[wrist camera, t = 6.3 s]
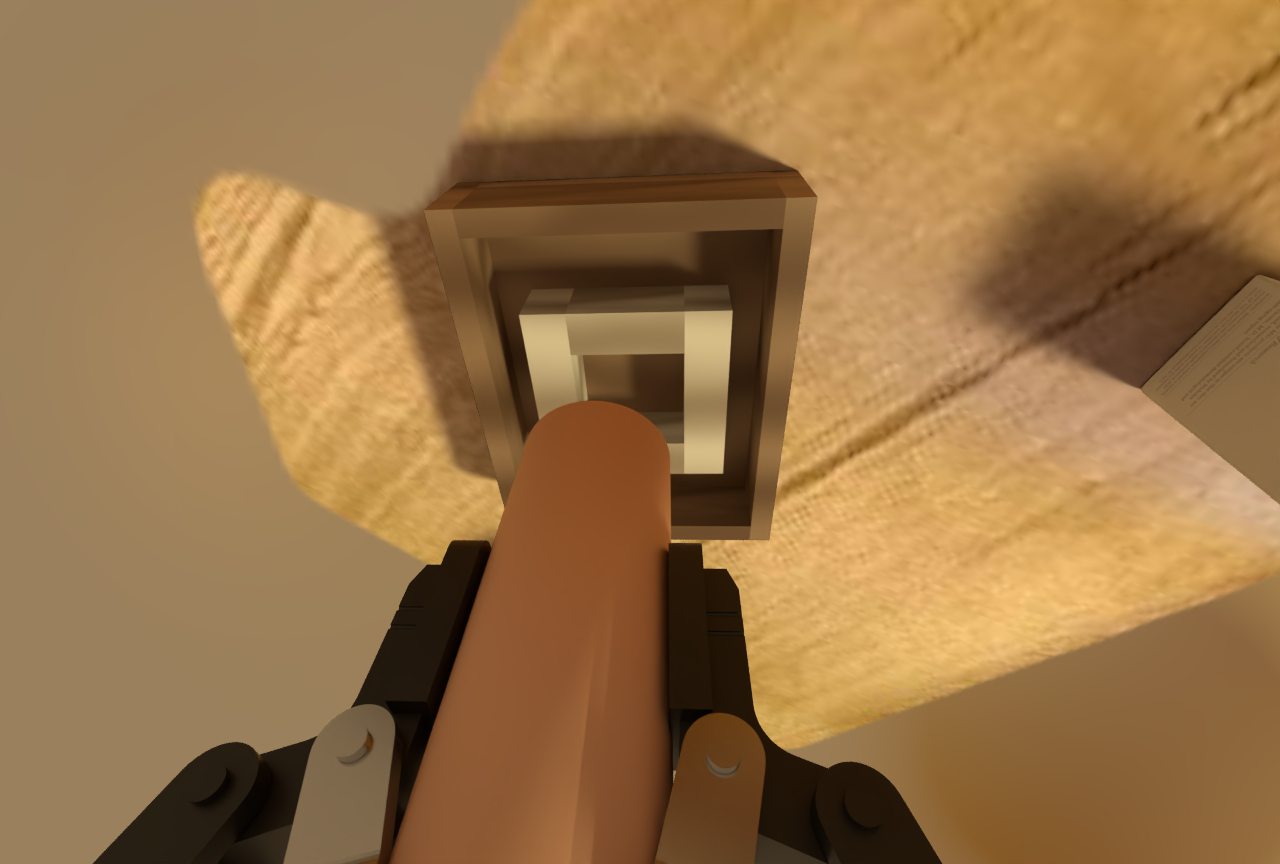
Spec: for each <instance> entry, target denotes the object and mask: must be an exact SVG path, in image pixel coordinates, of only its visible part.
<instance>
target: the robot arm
mask: <svg viewBox="0 0 1280 864" xmlns="http://www.w3.org/2000/svg"><path fill="white" fill-rule="evenodd" d="M490 552H491V546H490V543H489V542H488V541H475V540H454V541H452V542H451V543H450V545H449V547H448V549H447V551H446V554H445V556H444V558H443V561H442V563H441V565H426V566H425V568H424V569H423V570H422V571H421V572H420V573H419V574H418V575H417V576H416V577H415V578H414V579H413V580H412V581H411V582H410V584H409V585H408V587H407V590H406V592H405V594H404V596H403V598H402V600H401V603H400V605H399V610H398V611H396V614H395V616H394V618H393V620H392V623H391V628H390V629H388V631H387V633H386V636H385V638H384V640H383V642H382V644H381V646H380V649H379V651H378V653H377V655H376V658H375V660H374V662H373V664H372V666H371V668H370V671H369V673H368V675H367V677H366V679H365V682H364V684H363V686H362V688H361V691H360V693H359V695H358V697H357V699H356V701H355V702H354V704H353V705H352V707H351V708H350V709H348V710H346V711H344V712H343V713H341V714H339V715H338V716H336V717H335V718H334V719H332V720H331V721H330V722H329V723H328V724H327V725H326V726H325V727H324V728H323V730H322V731H321V732H320V734H319V735H318V736H316V737H314V738H311V739H309V740H306V741H303V742H300V743H297V744H293V745H290V746H287V747H283V748H280V749H277V750H274V751H270V752H267V753H263V754H260V755H259V754H258V753H257V752H256V751H255V750H254V749H253V748H252V747H251V746H249V745H247V744H244V743H239V742H232V743H226V744H222V745H219V746H217V747H214V748H212V749H210V750H208V751H206V752H204V753H203V754H201V755H200V756H198V757H197V758H195V759H194V760H193V761H192V762H190V763H189V764H188V765H187V766H186V767H185V768H184V769H183V770H182V771H181V772H180V773H179V774H178V775H177V776H176V777H175V778H174V779H173V780H172V781H171V782H170V783H169V784H168V785H167V786H166V787H165V789H164V790H163V791H162V792H161V793H160V794H159V795H158V796H157V797H156V798H155V799H154V800H153V801H152V802H151V803H150V804H149V805H148V806H147V807H146V809H145V810H143V812H142V813H141V814H140V815H139V816H138V817H137V818H136V819H135V820H134V821H133V822H132V823H131V824H130V825H129V826H128V827H127V828H126V829H125V830H124V831H123V833H122V834H121V835H120V836H119V837H118V838H117V839H116V840H115V841H114V842H113V843H112V844H111V845H110V846H109V847H108V848H107V849H106V850H105V851H104V852H103V853H102V855H100V856H99V858H98V859H97V860H96V861H95V862H94V863H93V864H389V861H390V857H391V853H392V850H393V847H394V844H395V841H396V838H397V835H398V832H399V829H400V826H401V823H402V820H403V817H404V814H405V811H406V808H407V805H408V802H409V799H410V795H411V792H412V789H413V786H414V783H415V780H416V777H417V774H418V771H419V768H420V765H421V762H422V759H423V756H424V753H425V750H426V747H427V744H428V741H429V738H430V735H431V732H432V728H433V725H434V722H435V719H436V716H437V713H438V710H439V707H440V704H441V701H442V698H443V695H444V692H445V689H446V686H447V683H448V680H449V677H450V674H451V671H452V668H453V665H454V661H455V658H456V655H457V652H458V649H459V646H460V643H461V640H462V637H463V634H464V631H465V628H466V625H467V622H468V619H469V616H470V613H471V610H472V607H473V604H474V601H475V598H476V594H477V591H478V588H479V585H480V582H481V579H482V576H483V573H484V570H485V567H486V564H487V561H488V558H489V555H490ZM668 575H669V729H670V731H671V734H672V739H673V770H675V771H676V774H675V779H674V783H673V787H672V791H671V795H670V800H669V804H668V808H667V812H666V817H665V821H664V825H663V829H662V834H661V838H660V842H659V846H658V851H657V855H656V859H655V863H654V864H942V862H941V861H940V859H939V858H938V856H937V854H936V853H935V851H934V850H933V848H932V846H931V844H930V843H929V841H928V840H927V838H926V836H925V835H924V833H923V831H922V830H921V828H920V826H919V825H918V823H917V821H916V820H915V818H914V816H913V815H912V813H911V812H910V810H909V808H908V807H907V805H906V803H905V802H904V800H903V798H902V797H901V795H900V794H899V792H898V791H897V789H896V788H895V786H894V785H892V783H891V782H890V781H889V780H888V779H887V778H886V777H885V776H884V775H882V774H881V773H880V772H878V771H876V770H875V769H873V768H871V767H869V766H867V765H864V764H861V763H857V762H842V763H838V764H835V765H833V766H831V767H830V768H829V769H828V768H826V767H823V766H820V765H818V764H815V763H812V762H810V761H807V760H805V759H802V758H800V757H797V756H794V755H792V754H790V753H788V752H786V751H784V750H783V749H781V748H780V747H778V746H777V745H776V744H775V743H774V742H772V740H771V739H770V738H769V737H768V736H767V735H766V734H765V732H764V731H763V729H762V728H761V726H760V724H759V722H758V720H757V717H756V715H755V711H754V706H753V698H752V690H751V682H750V674H749V667H748V659H747V651H746V643H745V636H744V627H743V619H742V611H741V604H740V596H739V589H738V587H737V586H736V584H735V582H734V581H733V579H732V577H731V576H730V574H729V573H728V571H727V569H703V555H702V545H701V543H668Z"/></svg>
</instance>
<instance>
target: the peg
mask: <svg viewBox="0 0 1280 864" xmlns="http://www.w3.org/2000/svg"><path fill="white" fill-rule="evenodd" d="M668 543H671V485H670V453H669V449H668V445H667V443H666V441H665V439H664V437H663V435H662V434H661V432H660V431H659V430H658V429H657V427H656V426H655V425H654V424H653V423H652V422H651V421H649V420H648V419H647V418H646V417H644V416H643V415H641V414H640V413H638V412H636V411H634V410H632V409H630V408H628V407H625V406H623V405H619V404H615V403H611V402H605V401H579V402H574V403H570V404H566V405H563V406H561V407H558V408H556V409H554V410H552V411H551V412H549V413H547V414H546V415H545V416H544V417H542V418H541V419H540V420H539V421H538V422H537V423H536V425H535V426H534V427H533V429H532V430H531V432H530V434H529V437H528V439H527V442H526V445H525V448H524V451H523V454H522V457H521V460H520V464H519V467H518V470H517V473H516V476H515V479H514V482H513V485H512V488H511V491H510V494H509V497H508V500H507V503H506V506H505V509H504V512H503V515H502V518H501V521H500V524H499V527H498V531H497V534H496V537H495V540H494V543H493V546H492V549H491V552H490V555H489V558H488V561H487V564H486V567H485V570H484V573H483V576H482V579H481V582H480V585H479V588H478V591H477V594H476V598H475V601H474V604H473V607H472V610H471V613H470V616H469V619H468V622H467V625H466V628H465V631H464V634H463V637H462V640H461V643H460V646H459V649H458V652H457V655H456V658H455V661H454V665H453V668H452V671H451V674H450V677H449V680H448V683H447V686H446V689H445V692H444V695H443V698H442V701H441V704H440V707H439V710H438V713H437V716H436V719H435V722H434V725H433V728H432V732H431V735H430V738H429V741H428V744H427V747H426V750H425V753H424V756H423V759H422V762H421V765H420V768H419V771H418V774H417V777H416V780H415V783H414V786H413V789H412V792H411V795H410V799H409V802H408V805H407V808H406V811H405V814H404V817H403V820H402V823H401V826H400V829H399V832H398V835H397V838H396V841H395V844H394V847H393V850H392V853H391V857H390V861H389V864H654V863H655V859H656V855H657V851H658V846H659V842H660V838H661V834H662V829H663V825H664V821H665V817H666V812H667V808H668V804H669V800H670V795H671V791H672V787H673V739H672V734H671V731H670V729H669V575H668Z"/></svg>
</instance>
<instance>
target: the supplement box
mask: <svg viewBox="0 0 1280 864" xmlns="http://www.w3.org/2000/svg"><path fill="white" fill-rule="evenodd" d="M1142 392H1143V393H1144V394H1145V395H1146V396H1147V397H1149V398H1150V399H1151V400H1152V401H1154V402H1155V403H1156V404H1157V405H1158V406H1160V407H1161V408H1162V409H1163V410H1164V411H1166V412H1167V413H1168V414H1169V415H1170V416H1172V417H1173V418H1174V419H1175V420H1177V421H1178V422H1179V423H1180V424H1181V425H1183V426H1184V427H1185V428H1187V429H1188V430H1189V431H1190V432H1191V433H1193V434H1194V435H1195V436H1196V437H1198V438H1199V439H1200V440H1201V441H1202V442H1204V443H1205V444H1206V445H1207V446H1208V447H1210V448H1211V449H1212V450H1213V451H1215V452H1216V453H1217V454H1218V455H1219V456H1221V457H1222V458H1223V459H1224V460H1226V461H1227V462H1228V463H1229V464H1230V465H1232V466H1233V467H1234V468H1235V469H1237V470H1238V471H1239V472H1240V473H1242V474H1243V475H1244V476H1245V477H1247V478H1248V479H1249V480H1250V481H1252V482H1253V483H1254V484H1255V485H1256V486H1258V487H1259V488H1260V489H1261V490H1263V491H1264V492H1265V493H1266V494H1267V495H1269V496H1270V497H1271V498H1272V499H1274V500H1275V501H1276V502H1277V503H1279V504H1280V281H1278V280H1275V279H1272V278H1269V277H1266V276H1263V275H1257V276H1256V277H1254V278H1253V279H1252V280H1251V281H1250V282H1249V283H1248V284H1247V285H1246V286H1245V287H1244V288H1243V289H1242V290H1241V291H1240V292H1238V293H1237V294H1236V295H1235V296H1234V297H1233V298H1232V299H1231V300H1230V301H1229V302H1228V303H1227V304H1226V305H1225V306H1224V307H1223V308H1222V309H1221V310H1220V311H1219V312H1218V313H1217V314H1216V315H1215V316H1214V317H1213V318H1212V319H1210V320H1209V321H1208V322H1207V323H1206V324H1205V325H1204V326H1203V327H1202V328H1201V329H1200V330H1199V331H1198V332H1197V333H1196V334H1195V335H1194V336H1193V337H1192V338H1191V339H1190V340H1189V341H1188V342H1187V343H1186V344H1185V345H1184V346H1183V347H1182V348H1181V349H1180V350H1179V351H1178V352H1177V353H1176V354H1175V355H1174V356H1172V357H1171V358H1170V359H1169V360H1168V361H1167V362H1166V363H1165V364H1164V365H1163V366H1162V367H1161V368H1160V369H1159V370H1158V371H1157V372H1156V373H1155V374H1154V375H1153V376H1152V377H1151V378H1150V379H1149V380H1148V381H1147V382H1146V383H1145V384H1144V386H1143V387H1142Z"/></svg>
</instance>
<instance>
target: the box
mask: <svg viewBox="0 0 1280 864" xmlns="http://www.w3.org/2000/svg"><path fill="white" fill-rule="evenodd" d="M816 204H817V196H816V194H815V193H814V192H813V190H812V189H811V188H810V186H809V185H808V184H807V182H806V181H805V180H804V178H803V177H802V176H801V174H800V173H799V172H798V170H796V171H769V172H742V173H715V174H689V175H662V176H635V177H608V178H582V179H555V180H528V181H501V182H475V183H457V184H456V185H454V186H453V187H452V188H451V189H450V190H448V191H447V192H446V193H445V194H443V195H442V196H441V197H440V198H438V199H437V200H436V201H435V202H433V203H432V204H431V205H430V206H428V207H427V208H426V209H425V210H424V214H425V218H426V221H427V225H428V229H429V232H430V236H431V240H432V243H433V247H434V251H435V254H436V258H437V262H438V265H439V269H440V273H441V276H442V280H443V284H444V287H445V291H446V295H447V298H448V302H449V306H450V309H451V313H452V317H453V321H454V324H455V328H456V332H457V335H458V339H459V343H460V346H461V350H462V354H463V357H464V361H465V365H466V368H467V372H468V376H469V379H470V383H471V387H472V390H473V394H474V398H475V401H476V405H477V409H478V412H479V416H480V420H481V423H482V427H483V431H484V434H485V438H486V442H487V445H488V449H489V453H490V456H491V460H492V464H493V467H494V471H495V475H496V478H497V482H498V486H499V489H500V493H501V497H502V500H503V504H504V508H505V506H506V503H507V500H508V497H509V494H510V491H511V488H512V485H513V482H514V479H515V476H516V473H517V470H518V467H519V464H520V460H521V457H522V454H523V451H524V448H525V445H526V442H527V439H528V437H529V434H530V432H531V430H532V429H533V427H534V426H535V425H536V423H537V422H538V421H539V420H540V419H541V418H542V417H544V416H545V415H546V414H547V413H549V412H551V411H552V410H554V409H556V408H558V407H561V406H563V405H566V404H570V403H574V402H579V401H605V402H611V403H615V404H619V405H623V406H625V407H628V408H630V409H632V410H634V411H636V412H638V413H640V414H641V415H643V416H644V417H646V418H647V419H648V420H649V421H651V422H652V423H653V424H654V425H655V426H656V427H657V429H658V430H659V431H660V432H661V434H662V435H663V437H664V439H665V441H666V443H667V445H668V449H669V453H670V485H671V539H679V540H769V538H770V531H771V524H772V517H773V510H774V503H775V496H776V488H777V481H778V474H779V467H780V460H781V453H782V446H783V439H784V431H785V424H786V417H787V410H788V403H789V396H790V389H791V382H792V374H793V367H794V360H795V353H796V346H797V339H798V332H799V325H800V318H801V310H802V303H803V296H804V289H805V282H806V275H807V268H808V261H809V253H810V246H811V239H812V232H813V225H814V218H815V211H816Z"/></svg>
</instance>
